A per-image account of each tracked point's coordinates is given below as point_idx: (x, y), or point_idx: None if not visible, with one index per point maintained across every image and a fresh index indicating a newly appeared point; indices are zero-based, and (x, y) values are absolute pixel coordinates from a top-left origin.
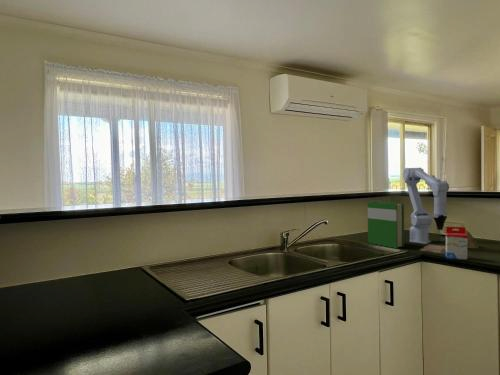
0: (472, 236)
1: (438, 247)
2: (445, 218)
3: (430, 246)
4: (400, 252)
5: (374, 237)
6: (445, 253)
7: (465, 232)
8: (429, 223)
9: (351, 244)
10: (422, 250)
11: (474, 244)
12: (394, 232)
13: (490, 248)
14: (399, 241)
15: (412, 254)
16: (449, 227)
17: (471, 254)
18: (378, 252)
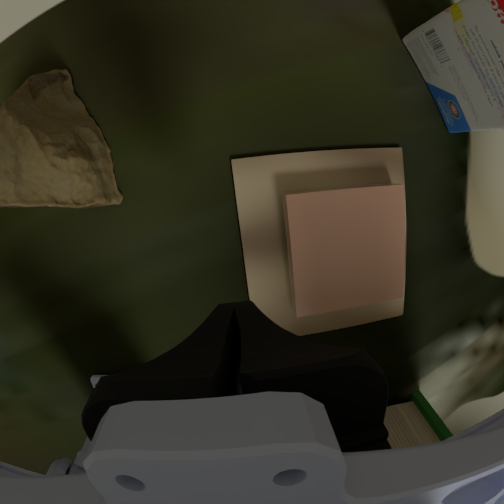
0: (17, 90)
1: (363, 220)
2: (204, 371)
3: (364, 277)
4: (472, 339)
5: None
6: (461, 131)
7: (4, 138)
8: (77, 473)
9: None
10: (404, 291)
11: (56, 84)
12: None
13: (28, 40)
14: (398, 425)
15: (486, 282)
16: None
17: (288, 24)
18: (493, 381)
